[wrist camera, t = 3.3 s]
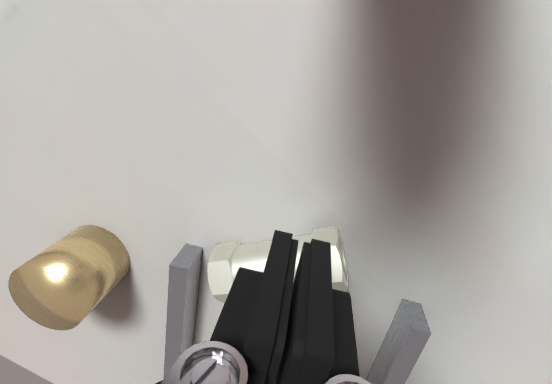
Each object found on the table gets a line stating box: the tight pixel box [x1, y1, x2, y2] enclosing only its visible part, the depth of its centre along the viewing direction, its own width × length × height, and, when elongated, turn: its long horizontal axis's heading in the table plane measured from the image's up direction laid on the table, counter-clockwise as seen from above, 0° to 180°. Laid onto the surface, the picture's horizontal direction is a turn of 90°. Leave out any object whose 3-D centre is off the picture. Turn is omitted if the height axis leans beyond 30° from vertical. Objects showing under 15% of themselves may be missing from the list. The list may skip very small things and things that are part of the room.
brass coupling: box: [9, 225, 130, 330], centre depth 22 cm, size 5×5×5 cm
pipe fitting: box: [207, 226, 348, 303], centre depth 21 cm, size 8×4×7 cm
